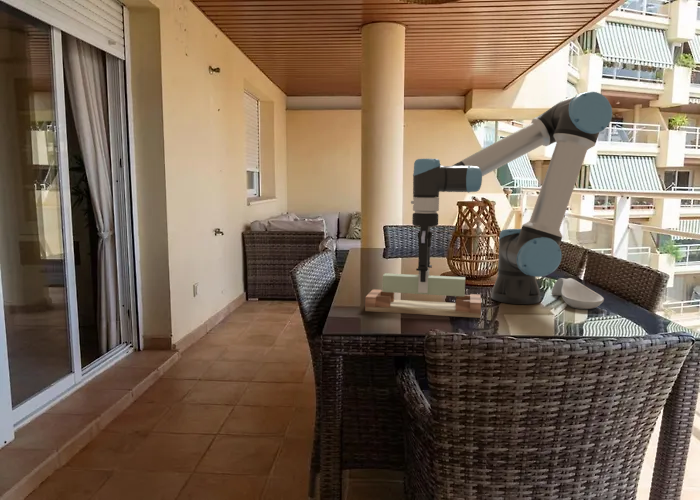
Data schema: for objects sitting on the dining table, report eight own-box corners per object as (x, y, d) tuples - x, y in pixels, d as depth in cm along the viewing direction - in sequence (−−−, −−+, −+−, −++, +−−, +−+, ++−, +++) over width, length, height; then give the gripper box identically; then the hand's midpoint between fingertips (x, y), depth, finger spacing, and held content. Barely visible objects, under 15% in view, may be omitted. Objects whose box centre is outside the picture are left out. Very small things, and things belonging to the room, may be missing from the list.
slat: (384, 289, 158) (384, 273, 157) (464, 293, 152) (465, 277, 151) (382, 291, 154) (382, 275, 153) (464, 296, 148) (465, 279, 147)
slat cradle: (372, 302, 163) (372, 289, 162) (479, 308, 155) (480, 294, 155) (365, 310, 151) (365, 297, 151) (480, 317, 144) (481, 303, 143)
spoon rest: (610, 312, 152) (612, 288, 151) (571, 312, 151) (572, 288, 150) (574, 295, 175) (575, 274, 174) (539, 295, 175) (540, 274, 174)
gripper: (415, 210, 159) (414, 285, 162) (409, 213, 142) (407, 296, 145) (440, 211, 157) (438, 286, 160) (436, 213, 141) (434, 297, 144)
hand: (423, 290), depth 153 cm, fingers closed on slat, 4 cm apart
